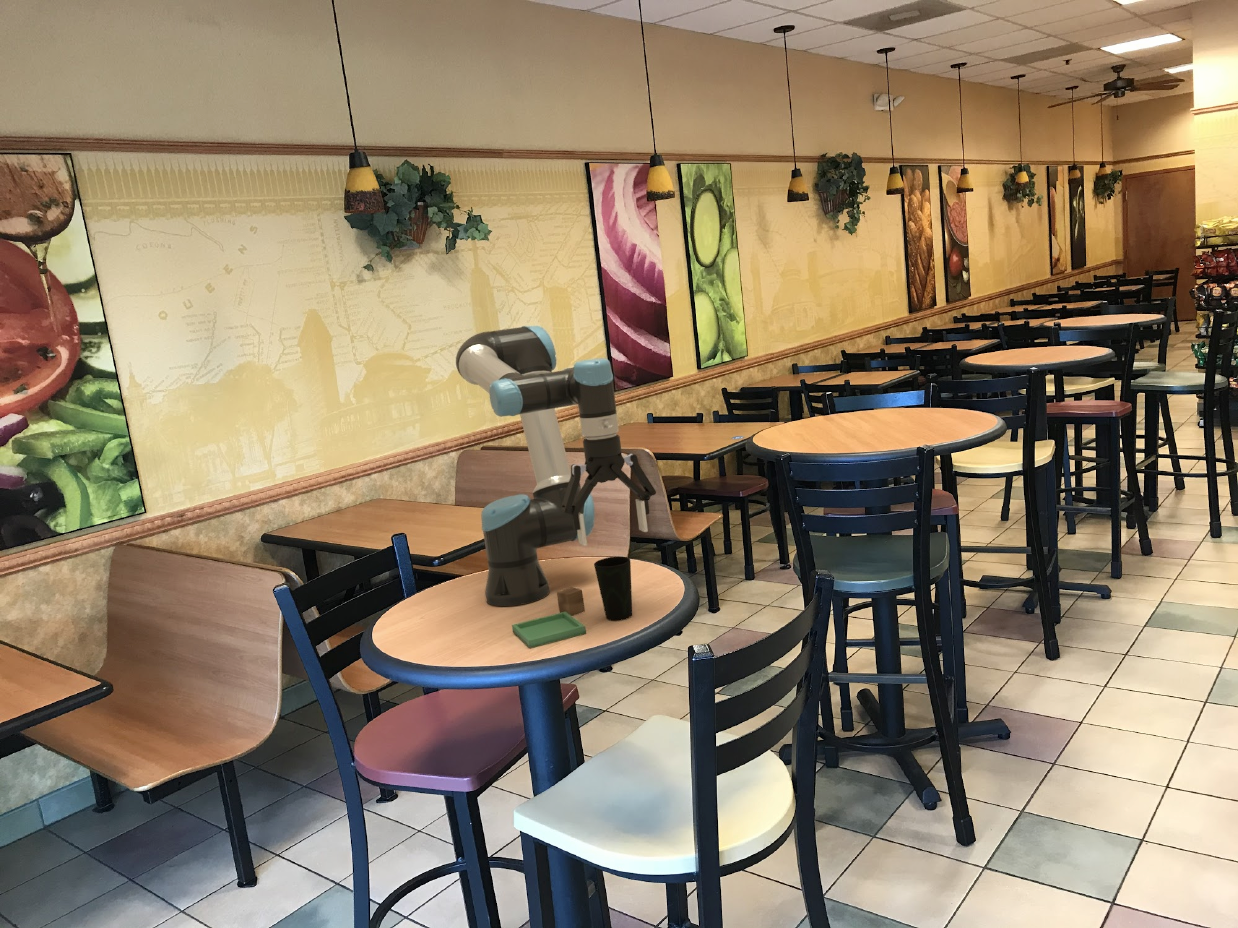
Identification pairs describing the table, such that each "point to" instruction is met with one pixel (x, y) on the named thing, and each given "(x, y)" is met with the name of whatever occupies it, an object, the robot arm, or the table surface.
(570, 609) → the walnut block
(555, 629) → the tray
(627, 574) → the cup
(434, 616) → the table surface
